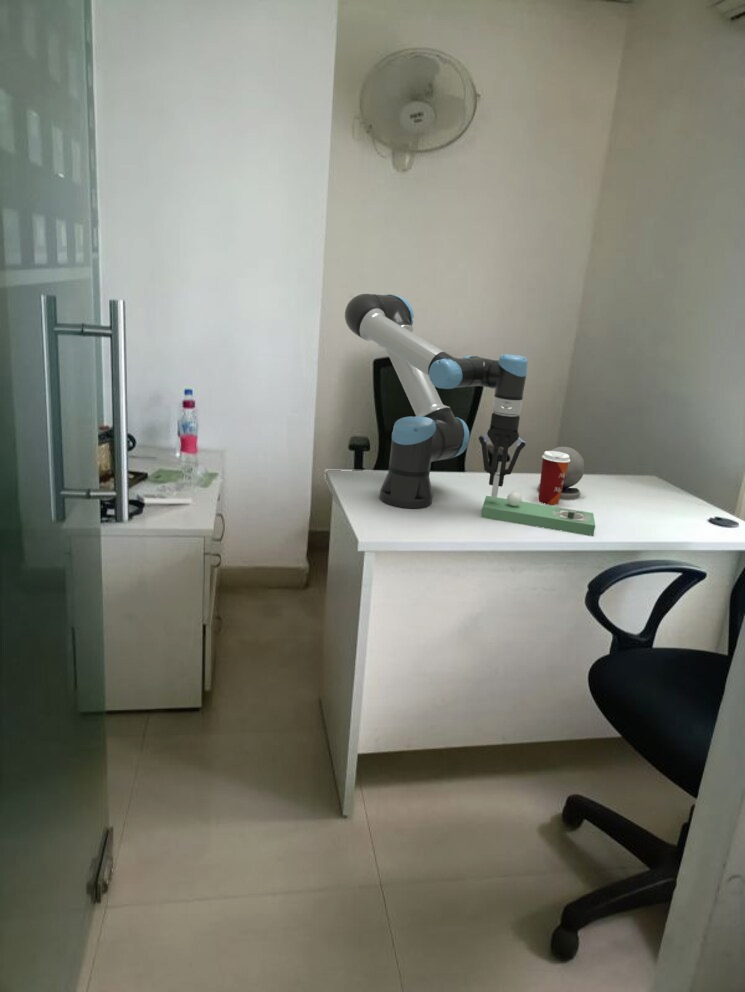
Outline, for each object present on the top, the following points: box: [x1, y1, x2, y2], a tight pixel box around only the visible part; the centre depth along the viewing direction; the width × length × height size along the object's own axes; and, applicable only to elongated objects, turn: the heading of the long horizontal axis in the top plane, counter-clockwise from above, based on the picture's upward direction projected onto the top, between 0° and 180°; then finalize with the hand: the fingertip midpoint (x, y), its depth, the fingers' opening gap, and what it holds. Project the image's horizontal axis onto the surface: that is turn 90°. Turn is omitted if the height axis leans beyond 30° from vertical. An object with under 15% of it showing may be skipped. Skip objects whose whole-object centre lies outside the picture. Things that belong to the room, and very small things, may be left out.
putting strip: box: [480, 495, 596, 537], centre depth 196 cm, size 30×11×3 cm, turn 76°
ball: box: [506, 491, 522, 506], centre depth 196 cm, size 4×4×4 cm
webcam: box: [537, 446, 586, 501], centre depth 221 cm, size 13×13×15 cm
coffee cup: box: [537, 450, 570, 506], centre depth 212 cm, size 8×8×15 cm
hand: (494, 496), depth 197 cm, fingers closed
